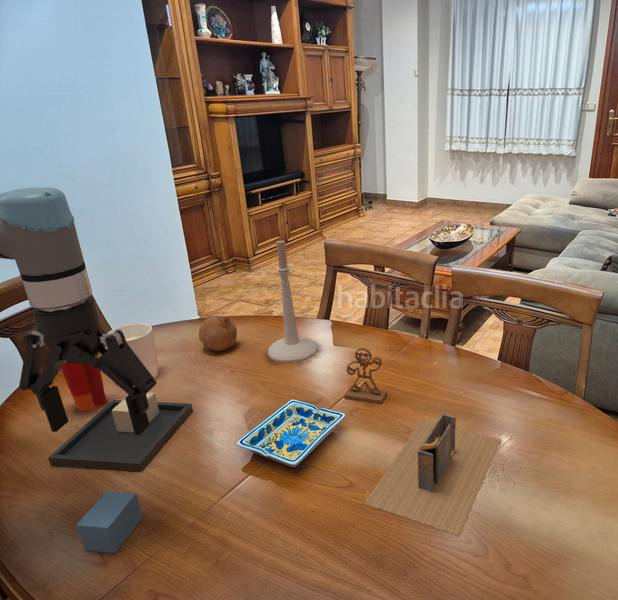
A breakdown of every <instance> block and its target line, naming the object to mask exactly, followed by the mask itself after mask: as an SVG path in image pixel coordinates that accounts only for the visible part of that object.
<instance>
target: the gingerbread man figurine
mask: <svg viewBox="0 0 618 600" xmlns="http://www.w3.org/2000/svg"><path fill="white" fill-rule="evenodd" d="M359 351H365V353H363V352H359ZM363 356H364V358H363ZM354 357H355V359H356V360H352V361H351V362H349V363H348V365H347V367H346V373H347V374H348V375H349V376H354V375H355V374H356V373H357V378H356V380H355V381H354V383H353V385H350V386H349V387H348V388H347V390H346V391H345V393H344V394H343V398H344V399H346V400H351V401H358V402H366V403H372V404H378V405H382V404H383V403H384V402H385V400H386V398H387V397H388V392H387V390H383V389H382V390H381V389H379V387H378V386H377V384H376V383H375V381H374V379H373V377H372V373H373V372H377V371H378V370H379V369H380V368H381V367H382V363H383V360H382V358H380V357H379V356H376V357H374V358H373V354H372V352H371V351H370V350H369V349H368V348H367V347H358V348H357V350H356V351H355V353H354ZM372 358H373V359H372ZM371 360H372V362H371ZM352 364H353V365H354V364H359V367H355V368H353V367H351V365H352ZM374 364H375V365H377V366H378V367H377V368H374V369H373V368H372V369H371V368H370V369H369V370H368V374H369V375H367V371H366V370H367V368H368V367H369V366H372V365H374ZM360 368H362V371H363V372H362V374H361V373H360ZM359 379H364V381H363V383H362V384H361V386H359V385H357V382H358V380H359ZM367 380H369V381H370V383H371V384H372V386H373V388H371V386H370V385H369V383H368V382H367ZM364 385H365V387H363V386H364Z"/></svg>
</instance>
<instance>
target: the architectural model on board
mask: <svg viewBox="0 0 618 600" xmlns="http://www.w3.org/2000/svg"><path fill="white" fill-rule="evenodd" d="M456 419H457V417H456V416H453V415H448V414H445V413H442V414H441V415H440V417H439V418H438V420H437V421H436V422H433V421H429V420H425V419H422V420H420V422H419V424H418V425H417V427H416V428H415V429H414V431H413V432H412V434H411V435H410V436H409V438H408V439H407V441H406V442H405V443H404V445H403V447H402V448H401V449H400V450H399V452H398V453H397V455H396V456H395V458H394V460H393V461H392V462H391V463H390V465H389V467H388V468H387V469H386V471H385V472H384V474H382V476H381V478H380V479H379V481H378V482H377V483H376V485H375V487H374V488H373V490H372V491H371V492H370V494H368V496H367V498H366V500H364V502H363V504H364V505H367V506H370V507H373V508H376V509H378V510H382V511H385V512H387V513H390V514H394V515H396V516H399V517H402V518H405V519H409V520H411V521H414V522H417V523H419V524H423V525H425V526H429V527H431V528H434V529H437V530H440V531H444V532H446V533H450V534H453V535H456V536H458V537H459V536H460V535H461V532H462V531H463V528H464V526H465V523H466V521H467V518H468V516H469V513H470V511H471V510H472V507H473V505H474V503H475V500H476V498H477V496H478V493H479V491H480V489H481V487H482V484H483V482H484V480H485V477H486V475H487V472H488V470H489V468H490V466H491V464H492V462H493V460H494V457H495V455H496V453H497V451H498V447H499V446H500V444H501V441H502V439H500V438H496V437H493V436H488V435H485V434H481V433H476V432H473V431H468V430H466V429H465V430H464V429H460V428H456V424H457V423H456V422H457V421H456Z"/></svg>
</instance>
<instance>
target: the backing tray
mask: <svg viewBox="0 0 618 600" xmlns="http://www.w3.org/2000/svg"><path fill="white" fill-rule="evenodd" d="M123 400H124V399H123ZM123 400H122V399H113V400H112V401H110V402H109V403H108V404H107V405H106V406H105V407H104V408H102V409H101V410H100V411H99V412H98V413H97V414H95V415H94V416H93V417H92V418H91V419H89V421H88V422H86V423H85V424H84V425H83V426H82V427H81V428H80V429H78V430H77V431H76V432H75V433H74V434H73V435H72V436H70V437H69V439H67V440H66V441H65V442H64V443H63V444H62V445H60V446H59V447H58V448H57V449H56V450H55V451H53V452H52V453H51V454H50V455H49V456H48V457H47V459H48V462H49V465H50V466H51V467H52V466H53V467H69V468H81V469H82V468H84V469H98V470H114V471H125V472H126V471H129V472H143V470H144V469H145V468H146V467H147V466H148V465H149V464H150V462H151V461H152V460H153V459H154V457H156V455H157V454H158V453H159V452H160V451H161V449H162V448H163V447H164V446H165V445H166V444H167V442H168V441H169V440H170V439H171V438H172V436H173V435H174V434H175V433H176V432H177V430H179V428H180V427H181V426H182V425H183V423H184V422H185V421H186V420H187V419H188V417H189V416H190V415H191V414H192V412H194V409H193V404H192V403H183V402H164V401H163V402H162V401H157V404H158V408H159V414H158V415H157V416H156V417H155V418H154V419H153V420H152V421H151V422H150V423H149V424H150V425H149V426H148V427H147V428H146V429H145V430H144V431H143V432H142V433H141V434H140V435H135V433H134V432H119V431H117V429H116V425H115V421H114V418H113V414H112V410H113V409H114V408H115V407H116V406H117V405H118V404H119V403H120V402H121V401H123Z"/></svg>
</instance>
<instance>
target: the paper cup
mask: <svg viewBox="0 0 618 600" xmlns="http://www.w3.org/2000/svg"><path fill="white" fill-rule="evenodd" d="M96 358H98V356H97V357H96ZM60 370H61V372H62V375H63V377H64V380H65V383H66V384H67V388H68V389H69V392H70V395H71V398H72V400H73V402H74V404H75V406H76V409H77V410H78V411H80V412H90V411H94V410H96V409H99V408H100V407H102V406H104V405H105V403H106V402H107V399H106V392H105V387H104V383H103V376H102V371H101V370H100V369H98V368H94V367H92V366H91V365H89V364H88V363H87V364H80V363H77V362H75V363H66V361H65V362H64V364H63V365H62V367H61V369H60Z"/></svg>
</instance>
